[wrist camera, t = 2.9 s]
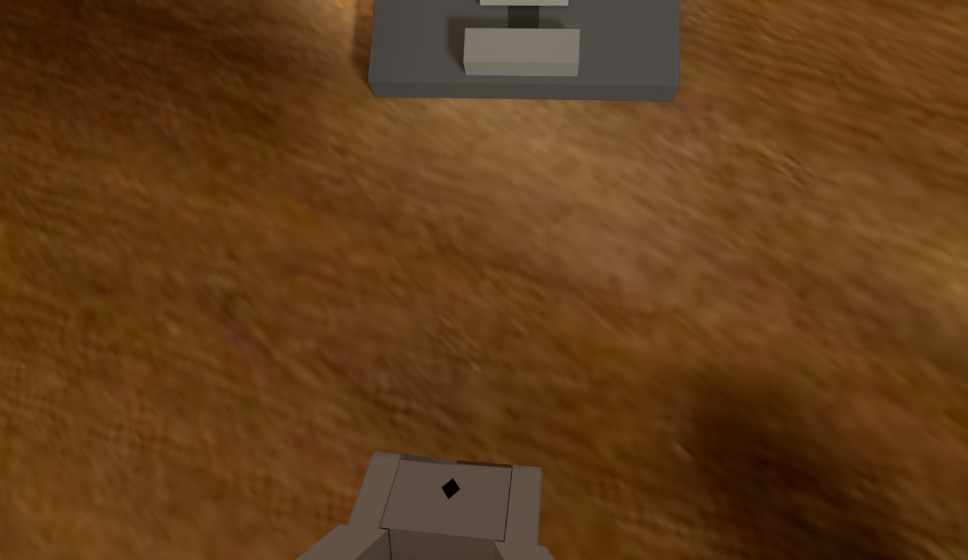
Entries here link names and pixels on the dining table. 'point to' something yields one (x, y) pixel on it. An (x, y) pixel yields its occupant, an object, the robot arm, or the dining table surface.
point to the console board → (526, 50)
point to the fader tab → (526, 2)
